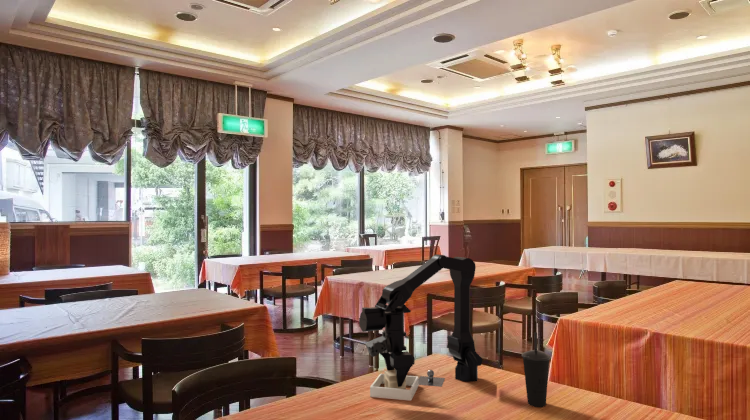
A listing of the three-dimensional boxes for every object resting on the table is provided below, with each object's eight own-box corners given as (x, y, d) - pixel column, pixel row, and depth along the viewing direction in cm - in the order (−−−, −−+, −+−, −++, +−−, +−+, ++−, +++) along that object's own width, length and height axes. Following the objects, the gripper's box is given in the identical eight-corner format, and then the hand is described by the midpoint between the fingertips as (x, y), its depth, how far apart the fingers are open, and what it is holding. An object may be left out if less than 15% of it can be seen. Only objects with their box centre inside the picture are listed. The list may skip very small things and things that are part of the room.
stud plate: (445, 381, 152) (444, 367, 152) (441, 390, 144) (441, 375, 144) (420, 379, 154) (420, 365, 154) (415, 388, 146) (415, 373, 146)
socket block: (400, 389, 144) (400, 369, 144) (405, 395, 139) (405, 374, 139) (384, 391, 143) (384, 370, 143) (389, 397, 138) (389, 376, 138)
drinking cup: (516, 401, 135) (515, 330, 136) (537, 397, 138) (536, 328, 139) (535, 411, 128) (534, 336, 129) (557, 406, 131) (556, 334, 132)
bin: (418, 389, 145) (418, 376, 145) (411, 404, 134) (411, 390, 134) (380, 386, 148) (380, 373, 148) (370, 400, 137) (370, 386, 137)
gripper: (360, 323, 148) (361, 373, 148) (376, 337, 130) (377, 395, 130) (394, 321, 151) (395, 370, 151) (415, 335, 133) (415, 391, 133)
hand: (394, 381), depth 141 cm, fingers open, 9 cm apart
